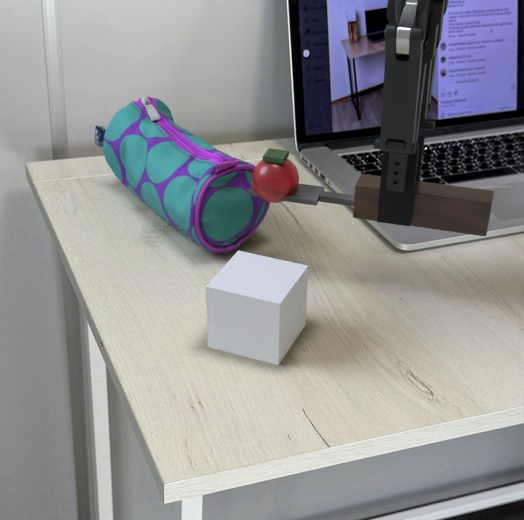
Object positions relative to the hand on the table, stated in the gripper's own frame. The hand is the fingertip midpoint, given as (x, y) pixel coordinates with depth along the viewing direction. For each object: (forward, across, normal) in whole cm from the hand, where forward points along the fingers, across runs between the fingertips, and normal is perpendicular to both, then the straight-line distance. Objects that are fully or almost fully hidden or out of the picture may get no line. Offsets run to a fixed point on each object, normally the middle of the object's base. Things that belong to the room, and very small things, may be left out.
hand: (397, 213), depth 74 cm
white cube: (+7, +12, -9) cm, 16 cm away
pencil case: (+7, -7, -22) cm, 24 cm away
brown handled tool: (0, 0, -3) cm, 3 cm away
